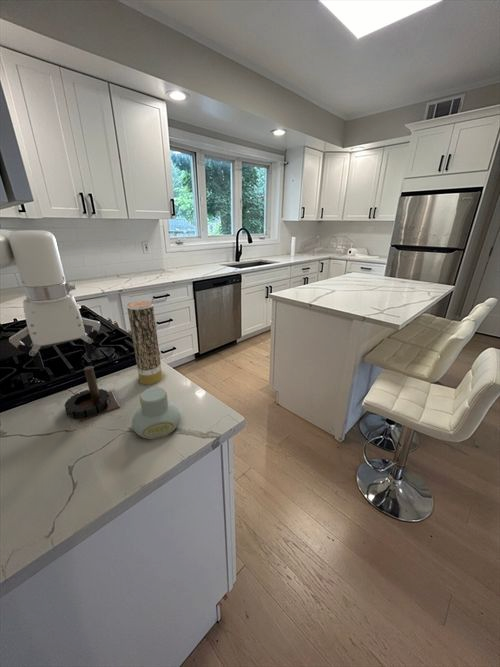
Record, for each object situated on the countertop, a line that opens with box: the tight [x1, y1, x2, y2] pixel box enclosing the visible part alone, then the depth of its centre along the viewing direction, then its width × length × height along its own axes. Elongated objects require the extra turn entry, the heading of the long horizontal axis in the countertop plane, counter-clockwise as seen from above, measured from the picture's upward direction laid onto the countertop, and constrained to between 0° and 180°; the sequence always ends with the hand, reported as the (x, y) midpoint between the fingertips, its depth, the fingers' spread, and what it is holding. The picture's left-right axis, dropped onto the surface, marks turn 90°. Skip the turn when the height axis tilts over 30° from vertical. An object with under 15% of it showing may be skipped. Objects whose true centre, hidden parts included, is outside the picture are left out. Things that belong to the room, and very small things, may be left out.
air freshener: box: [131, 387, 181, 440], centre depth 65 cm, size 11×8×10 cm
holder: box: [77, 365, 121, 423], centre depth 71 cm, size 9×9×12 cm
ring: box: [64, 388, 110, 420], centre depth 72 cm, size 10×10×2 cm
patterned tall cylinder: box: [126, 300, 163, 385], centre depth 82 cm, size 7×7×25 cm
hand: (66, 362), depth 66 cm, fingers open, 9 cm apart
